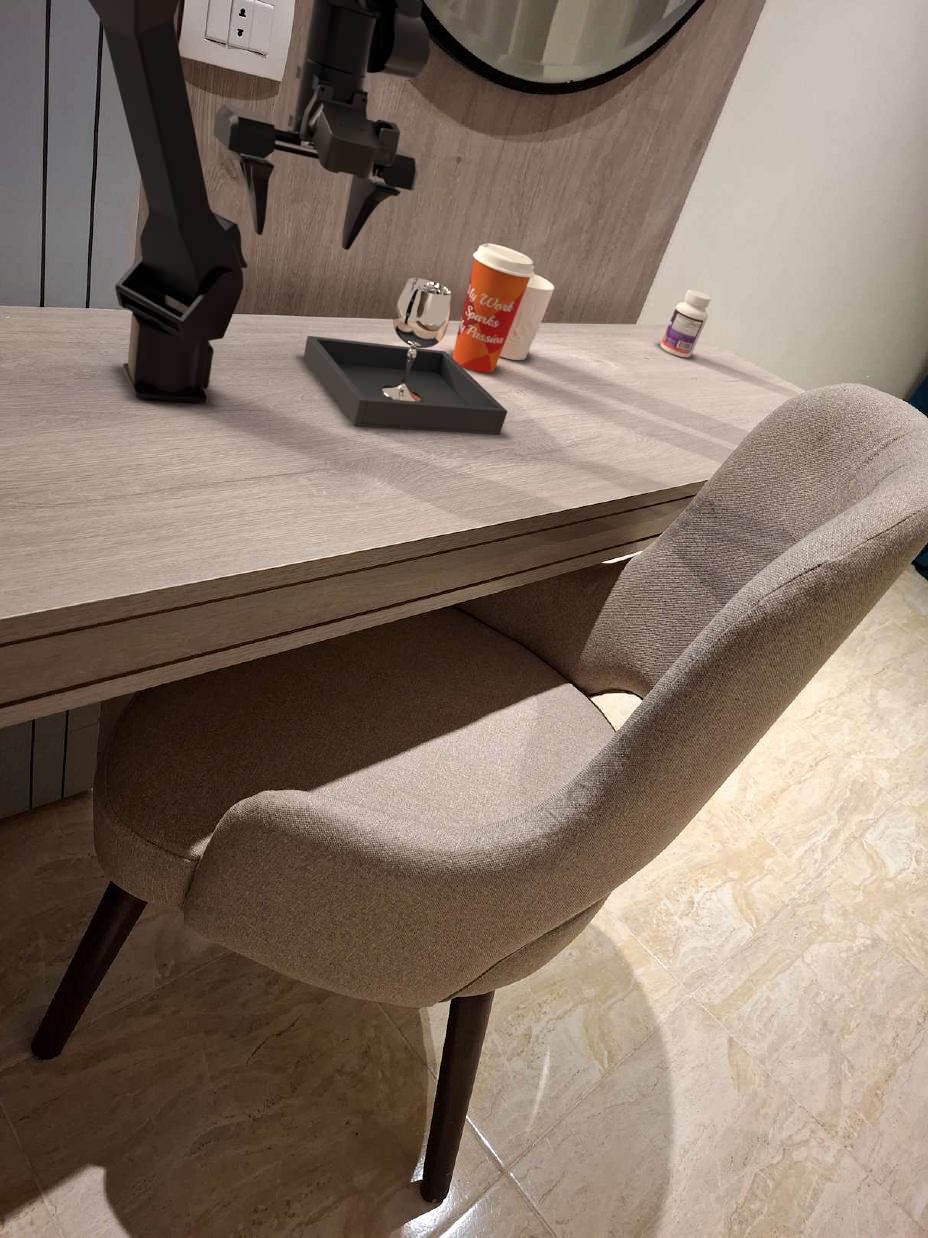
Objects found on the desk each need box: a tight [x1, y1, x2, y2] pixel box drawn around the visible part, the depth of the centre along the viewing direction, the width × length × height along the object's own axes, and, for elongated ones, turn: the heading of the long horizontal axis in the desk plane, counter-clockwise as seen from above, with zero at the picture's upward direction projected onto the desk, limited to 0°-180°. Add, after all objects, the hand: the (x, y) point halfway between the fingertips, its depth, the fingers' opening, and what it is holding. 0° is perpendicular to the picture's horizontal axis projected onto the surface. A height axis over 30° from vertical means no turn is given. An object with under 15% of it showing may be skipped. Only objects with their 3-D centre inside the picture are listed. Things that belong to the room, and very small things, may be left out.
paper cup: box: [452, 242, 536, 374], centre depth 112 cm, size 8×8×14 cm
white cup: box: [499, 274, 555, 361], centre depth 121 cm, size 8×8×10 cm
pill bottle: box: [660, 289, 712, 358], centre depth 148 cm, size 5×5×10 cm
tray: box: [302, 335, 508, 435], centre depth 99 cm, size 18×16×3 cm
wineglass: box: [382, 277, 452, 402], centre depth 96 cm, size 6×6×12 cm
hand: (302, 241), depth 90 cm, fingers open, 9 cm apart
